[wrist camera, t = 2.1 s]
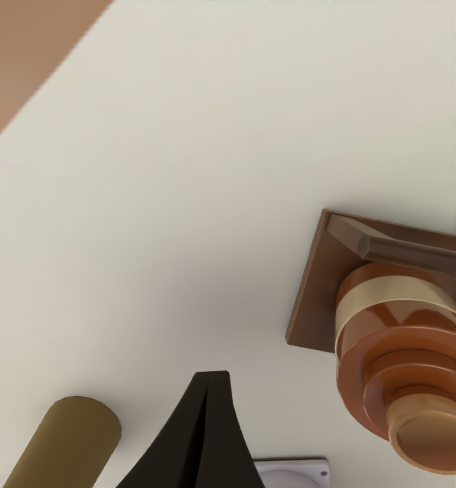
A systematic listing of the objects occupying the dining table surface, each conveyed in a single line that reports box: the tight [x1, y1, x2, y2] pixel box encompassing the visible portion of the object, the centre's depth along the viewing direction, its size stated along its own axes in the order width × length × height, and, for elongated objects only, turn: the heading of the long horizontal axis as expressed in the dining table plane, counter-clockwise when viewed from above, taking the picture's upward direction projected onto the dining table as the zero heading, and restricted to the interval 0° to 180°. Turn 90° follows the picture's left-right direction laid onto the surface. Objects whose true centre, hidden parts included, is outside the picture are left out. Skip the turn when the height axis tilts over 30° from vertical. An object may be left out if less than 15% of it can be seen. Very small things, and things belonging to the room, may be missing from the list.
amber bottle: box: [335, 262, 456, 475], centre depth 12 cm, size 6×6×8 cm
